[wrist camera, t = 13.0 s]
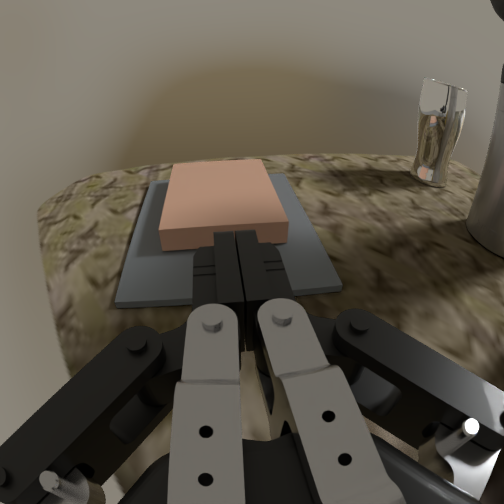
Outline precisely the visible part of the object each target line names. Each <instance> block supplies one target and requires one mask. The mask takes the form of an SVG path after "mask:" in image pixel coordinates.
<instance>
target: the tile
mask: <svg viewBox="0 0 504 504" xmlns="http://www.w3.org/2000/svg"><path fill="white" fill-rule="evenodd" d="M288 226H289V221H288V218H287V216H286V214H285V211H284V209H283V207H282V205H281V202H280V200H279V198H278V196H277V193H276V191H275V189H274V187H273V185H272V182H271V180H270V178H269V176H268V174H267V171H266V169H265V167H264V165H263V163H262V161H261V159H254V160H229V161H211V162H196V163H182V164H174V165H173V169H172V173H171V177H170V181H169V185H168V189H167V194H166V198H165V202H164V207H163V211H162V216H161V220H160V225H159V235H160V241H161V247H162V251H171V250H186V249H198V248H199V247H205V246H214V236H213V232H221V231H233V232H234V238H235V231H236V230H252V229H255V230H256V234H257V238H258V242H259V243H266V242H271V243H272V244H274V243H287V237H288Z"/></svg>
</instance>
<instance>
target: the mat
mask: <svg viewBox="0 0 504 504" xmlns="http://www.w3.org/2000/svg"><path fill="white" fill-rule="evenodd" d="M268 176H269V178H270V180H271V182H272V185H273V187H274V189H275V191H276V193H277V196H278V198H279V200H280V202H281V205H282V207H283V209H284V211H285V214H286V216H287V218H288V221H289V226H288V237H287V243H274V244H273V245H274V246H275V247H276V248H277V249H278V250H279V252H280V255H281V258H282V262H283V264H284V267H285V270H286V273H287V276H288V279H289V282H290V285H291V288H292V291H293V294H294V296H301V295H311V294H320V293H329V292H338V291H341V290H342V286H343V284H342V282H341V280H340V278H339V276H338V274H337V272H336V270H335V268H334V266H333V264H332V262H331V260H330V258H329V256H328V255H327V253H326V251H325V249H324V247H323V245H322V243H321V241H320V239H319V237H318V235H317V233H316V231H315V230H314V228H313V226H312V224H311V222H310V220H309V218H308V217H307V215H306V213H305V211H304V209H303V207H302V205H301V204H300V202H299V200H298V198H297V196H296V195H295V193H294V191H293V189H292V187H291V186H290V184H289V182H288V180H287V179H286V177H285V175H284V174H268ZM169 181H170V180H161V181H151V183H150V186H149V189H148V192H147V195H146V197H145V200H144V203H143V206H142V209H141V212H140V215H139V218H138V221H137V224H136V228H135V231H134V234H133V237H132V240H131V244H130V247H129V250H128V254H127V257H126V261H125V264H124V268H123V271H122V275H121V279H120V282H119V286H118V290H117V294H116V298H115V305H116V308H135V307H157V306H175V305H192V289H193V256H194V254H195V253H196V251H197V250H198V249H186V250H171V251H162V247H161V241H160V235H159V225H160V220H161V216H162V211H163V207H164V202H165V198H166V194H167V189H168V185H169Z"/></svg>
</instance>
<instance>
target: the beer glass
mask: <svg viewBox="0 0 504 504" xmlns="http://www.w3.org/2000/svg"><path fill="white" fill-rule="evenodd" d="M466 100H467V90H465V89H463V88H460V87H457V86H454V85H451V84H447V83H444V82H441V81H437V80H434V79H430V78H426V77H424V82H423V87H422V92H421V96H420V102H419V110H418V145H417V152H416V156H415V159H414V162H413V164H412V167H411V169H410V175H411V176H412V177H413V178H414V179H416V180H417V181H419V182H421V183H423V184H426V185H429V186H433V187H444V186H446V183H447V173H448V166H449V161H450V158H451V155H452V153H453V150H454V148H455V145H456V143H457V141H458V138H459V136H460V133H461V129H462V127H463V122H464V118H465V111H466Z"/></svg>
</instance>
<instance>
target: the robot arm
mask: <svg viewBox="0 0 504 504" xmlns="http://www.w3.org/2000/svg"><path fill="white" fill-rule="evenodd" d="M490 1H491V3H492V6H493V8H494V10H495V12H496V13H497V14H498V16H499V17H500V18H501V19H502V20H503V21H504V0H490ZM466 226H467V228H468V230H469V232H470V233H471V235H472V236H473V237H474V238H475V239H476V240H477V241H478V242H479V243H480V244H482V245H483V246H484V247H486V248H487V249H489V250H490V251H492V252H493V253H495V254H497V255H499V256H501V257H504V65H503V68H502V75H501V85H500V92H499V98H498V104H497V110H496V116H495V121H494V126H493V131H492V135H491V140H490V144H489V148H488V152H487V156H486V160H485V164H484V167H483V171H482V174H481V178H480V181H479V185H478V188H477V191H476V194H475V197H474V200H473V203H472V206H471V209H470V212H469V215H468V218H467V221H466ZM213 236H214V246H205V247H199V248H198V250H197V251H196V253H195V254H194V256H193V289H192V313H191V314H190V315H189V317H188V320H187V321H186V322H185V323H184V324H183V325H181V326H180V327H178V328H176V329H174V330H171V331H168V332H165V333H162V334H159V333H158V332H157V331H155V330H154V329H152V328H150V327H146V326H135V327H131V328H129V329H127V330H125V331H123V332H122V333H121V334H119V335H118V336H117V337H116V338H115V339H114V340H113V341H112V342H111V343H110V344H108V345H107V346H106V347H105V348H104V349H103V350H102V351H101V352H100V353H99V354H97V355H96V356H95V357H94V358H93V359H92V360H91V361H90V362H89V363H88V364H87V365H85V366H84V367H83V368H82V369H81V370H80V371H79V372H78V373H77V374H76V375H75V376H74V377H73V378H71V379H70V380H69V381H68V382H67V383H66V384H65V385H64V386H63V387H62V388H61V389H60V390H59V391H58V392H56V394H54V395H53V396H52V397H51V398H50V399H49V400H48V401H47V402H46V403H45V404H44V405H43V406H42V407H41V408H40V409H39V410H37V412H35V413H34V414H33V415H32V416H31V417H30V418H29V419H28V420H27V421H26V422H25V423H24V424H23V425H22V426H21V427H20V428H19V429H18V430H17V431H16V432H15V433H14V434H13V435H12V436H11V437H10V438H9V439H7V440H6V441H5V442H4V443H3V444H2V445H1V446H0V502H2V503H4V504H105V503H106V502H105V501H106V499H105V494H104V491H103V489H102V488H101V486H102V485H103V484H104V483H105V481H106V480H108V478H109V477H110V476H111V475H112V474H113V473H114V472H115V471H116V470H117V469H118V468H119V467H120V466H121V465H122V464H123V463H124V462H125V460H126V459H127V458H128V457H129V456H130V455H131V454H132V453H133V452H134V451H135V450H136V449H137V447H138V446H139V445H140V444H141V443H142V442H143V441H144V440H145V439H146V438H147V436H148V435H149V434H150V433H151V432H152V431H153V430H154V429H155V428H156V426H157V425H158V424H159V423H160V422H161V421H162V420H163V419H164V418H165V416H166V415H167V414H168V413H169V412H170V411H171V410H172V408H173V416H172V429H171V442H170V453H168V454H166V455H164V456H162V457H161V458H159V459H158V460H156V461H155V462H154V463H153V464H152V465H150V466H149V467H148V468H147V469H146V471H145V472H144V473H143V474H142V475H141V477H140V478H139V479H138V480H137V481H136V483H135V484H134V485H133V486H132V487H131V488H130V490H129V491H128V492H127V493H126V494H125V495H124V497H123V498H122V499H121V500H120V501H119V503H118V504H481V502H480V501H479V499H480V497H481V495H482V493H483V491H484V488H485V486H486V484H487V482H488V479H489V477H490V474H491V472H492V470H493V467H494V464H495V462H496V459H497V457H498V454H499V451H500V450H501V448H503V447H504V392H503V391H502V390H500V389H498V388H497V387H495V386H493V385H492V384H490V383H488V382H487V381H485V380H483V379H482V378H480V377H478V376H476V375H475V374H473V373H471V372H470V371H468V370H466V369H465V368H463V367H461V366H460V365H458V364H456V363H455V362H453V361H451V360H450V359H448V358H446V357H445V356H443V355H441V354H439V353H438V352H436V351H434V350H433V349H431V348H429V347H428V346H426V345H424V344H423V343H421V342H419V341H417V340H416V339H414V338H412V337H411V336H409V335H407V334H406V333H404V332H402V331H400V330H399V329H397V328H395V327H394V326H392V325H390V324H389V323H387V322H385V321H383V320H382V319H380V318H378V317H377V316H375V315H373V314H371V313H370V312H368V311H365V310H362V309H348V310H345V311H343V312H342V313H340V314H339V316H338V317H337V319H329V318H322V317H316V316H313V315H311V314H308V313H307V312H306V311H305V310H304V308H303V307H302V306H301V305H300V304H299V303H297V302H296V300H295V297H294V294H293V291H292V288H291V285H290V282H289V279H288V276H287V273H286V270H285V267H284V264H283V262H282V258H281V255H280V252H279V250H278V249H277V248H276V247H275V246H274V245H273V244H272V243H271V242H266V243H259V242H258V238H257V234H256V230H255V229H252V230H236V231H235V238H234V232H233V231H221V232H213ZM245 343H246V350H247V351H253V350H254V353H255V359H256V367H255V370H256V375H257V379H258V382H259V386H260V390H261V394H262V398H263V401H264V405H265V409H266V412H267V416H268V421H269V428H270V436H271V441H255V440H247V439H242V427H241V403H240V378H239V372H240V370H241V352H244V351H245ZM362 415H363V416H365V417H366V418H368V419H369V420H371V421H372V422H374V423H375V424H377V425H379V426H380V427H382V428H383V429H385V430H386V431H388V432H390V433H391V434H393V435H394V436H396V437H398V438H399V439H401V440H402V441H404V442H406V443H407V444H409V445H411V446H412V447H414V448H416V449H417V450H418V457H419V459H418V462H416V461H415V460H413V459H412V458H410V457H409V456H407V455H406V454H404V453H403V452H401V451H400V450H398V449H397V448H395V447H394V446H392V445H391V444H389V443H388V442H386V441H385V440H383V439H382V438H380V437H378V436H376V435H374V434H372V433H370V432H369V430H368V428H367V425H366V423H365V421H364V419H363V416H362Z"/></svg>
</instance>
